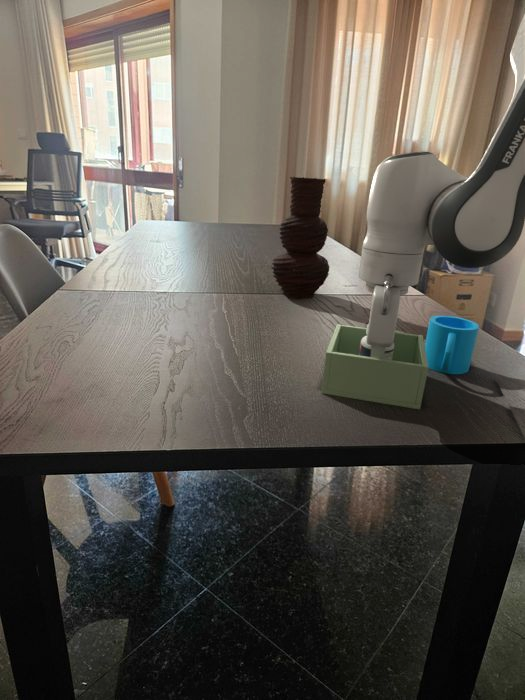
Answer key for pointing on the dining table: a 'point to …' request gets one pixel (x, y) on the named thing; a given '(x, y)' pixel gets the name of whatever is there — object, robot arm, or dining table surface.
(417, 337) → the basket
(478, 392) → the dining table surface
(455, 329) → the mug
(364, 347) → the pill bottle
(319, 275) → the vase
